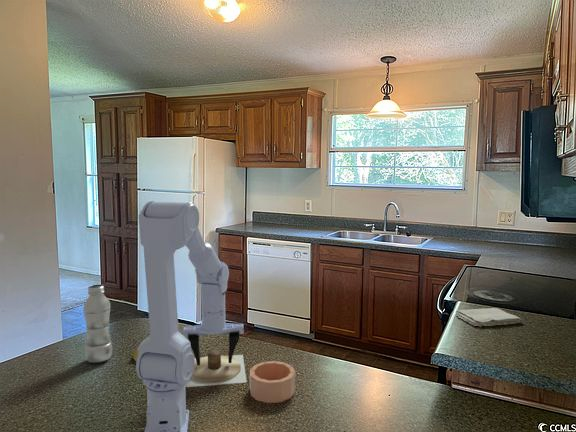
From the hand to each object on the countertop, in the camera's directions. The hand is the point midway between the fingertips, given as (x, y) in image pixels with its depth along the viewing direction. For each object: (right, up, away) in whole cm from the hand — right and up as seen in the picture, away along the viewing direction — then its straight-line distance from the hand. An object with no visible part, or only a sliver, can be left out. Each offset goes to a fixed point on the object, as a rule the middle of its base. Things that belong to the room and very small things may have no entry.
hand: (214, 362), depth 105 cm
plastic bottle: (-31, -2, +6) cm, 32 cm away
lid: (0, -2, 0) cm, 2 cm away
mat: (0, -2, 0) cm, 2 cm away
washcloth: (+86, +1, +38) cm, 94 cm away
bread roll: (-18, -2, +8) cm, 20 cm away
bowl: (+15, -4, -9) cm, 18 cm away
